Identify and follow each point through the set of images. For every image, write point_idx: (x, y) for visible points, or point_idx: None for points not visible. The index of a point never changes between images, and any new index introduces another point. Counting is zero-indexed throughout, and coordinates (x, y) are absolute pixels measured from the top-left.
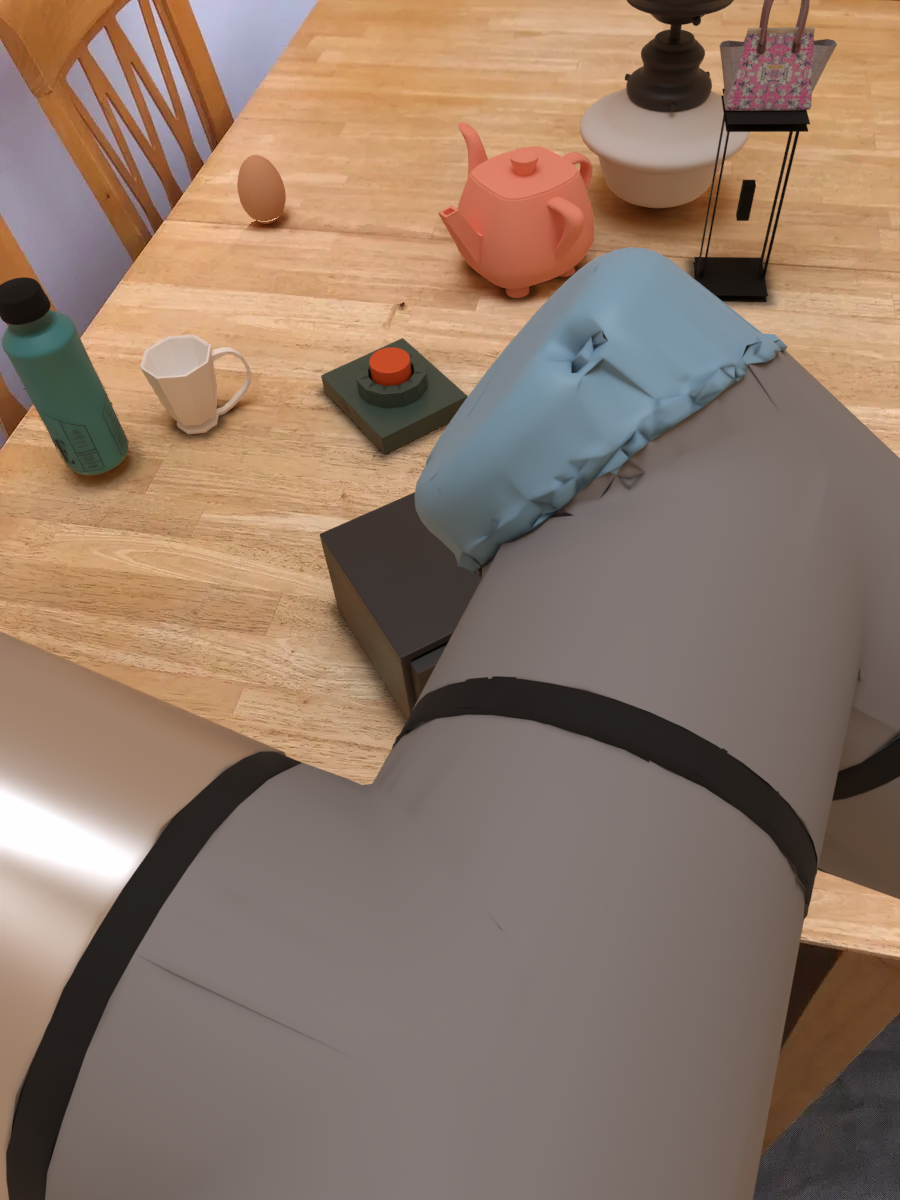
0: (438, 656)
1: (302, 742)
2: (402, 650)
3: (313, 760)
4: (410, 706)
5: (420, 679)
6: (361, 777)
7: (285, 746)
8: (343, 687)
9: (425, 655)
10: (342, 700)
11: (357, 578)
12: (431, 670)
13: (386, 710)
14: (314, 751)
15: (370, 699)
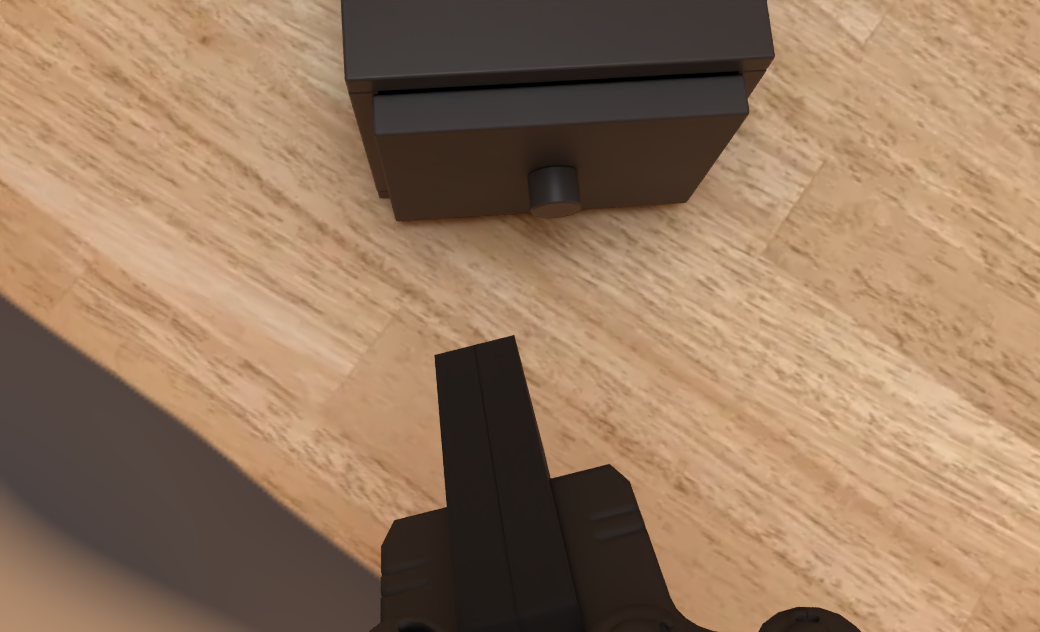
0: (444, 112)
1: (159, 124)
2: (360, 61)
3: (162, 172)
4: (374, 166)
5: (382, 146)
6: (235, 251)
7: (123, 116)
8: (290, 44)
9: (416, 95)
10: (275, 71)
11: None
12: (414, 138)
13: (349, 134)
14: (173, 154)
15: (329, 95)
